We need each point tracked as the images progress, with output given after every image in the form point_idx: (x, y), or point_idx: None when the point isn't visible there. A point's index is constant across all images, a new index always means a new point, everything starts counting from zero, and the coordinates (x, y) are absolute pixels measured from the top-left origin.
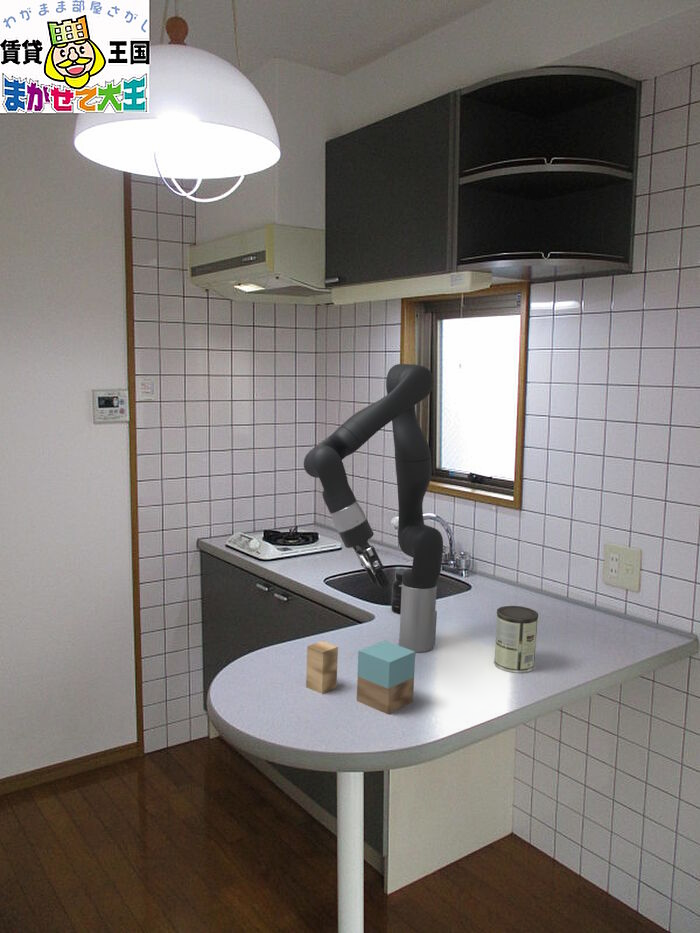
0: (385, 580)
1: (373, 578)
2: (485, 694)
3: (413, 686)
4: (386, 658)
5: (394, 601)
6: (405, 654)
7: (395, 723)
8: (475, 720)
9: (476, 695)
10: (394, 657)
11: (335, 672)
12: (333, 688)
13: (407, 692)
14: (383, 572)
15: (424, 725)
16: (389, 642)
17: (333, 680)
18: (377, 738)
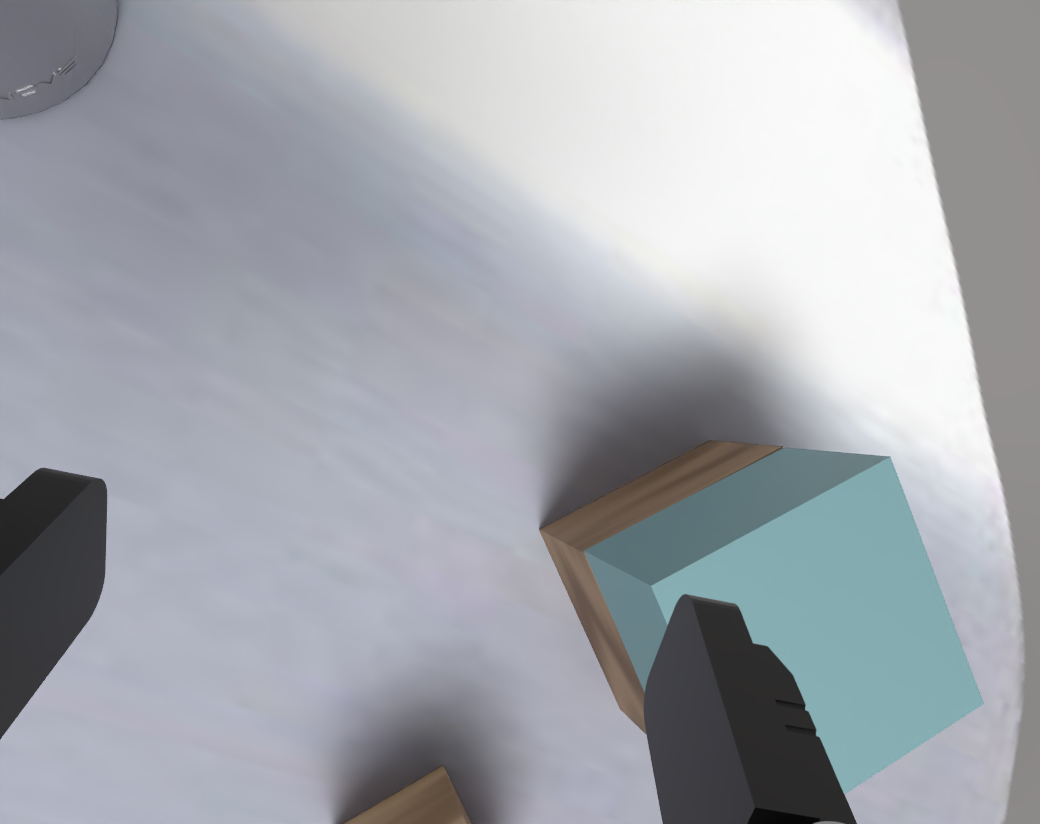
0: (798, 709)
1: (62, 617)
2: (754, 53)
3: (752, 444)
4: (929, 701)
5: None
6: (910, 546)
7: None
8: (939, 264)
9: (749, 103)
10: (928, 640)
11: (465, 820)
12: (453, 786)
13: None
14: (799, 783)
15: (910, 498)
16: (697, 565)
17: (463, 811)
18: (939, 734)
